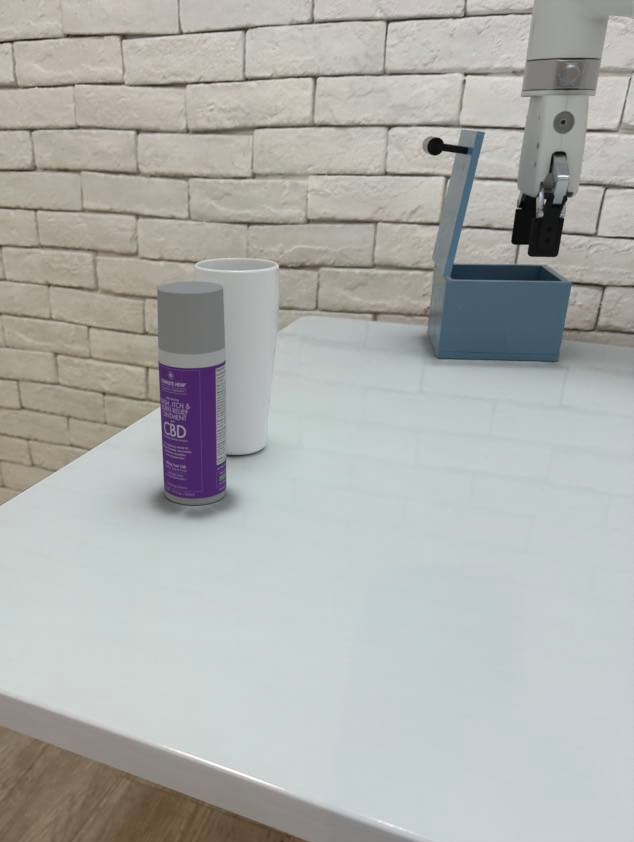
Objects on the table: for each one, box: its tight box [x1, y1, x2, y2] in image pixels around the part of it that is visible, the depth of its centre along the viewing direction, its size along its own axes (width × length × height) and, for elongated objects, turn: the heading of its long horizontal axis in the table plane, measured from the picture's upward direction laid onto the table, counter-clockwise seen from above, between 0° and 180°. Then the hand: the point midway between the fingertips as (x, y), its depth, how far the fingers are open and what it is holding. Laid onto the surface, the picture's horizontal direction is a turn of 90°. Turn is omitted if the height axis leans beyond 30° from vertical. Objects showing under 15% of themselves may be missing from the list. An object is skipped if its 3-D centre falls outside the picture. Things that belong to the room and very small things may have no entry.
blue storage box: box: [426, 262, 573, 362], centre depth 98 cm, size 14×13×9 cm
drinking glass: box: [193, 257, 281, 456], centre depth 67 cm, size 7×7×15 cm
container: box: [156, 280, 227, 506], centre depth 58 cm, size 5×5×15 cm
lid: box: [421, 129, 486, 277], centre depth 94 cm, size 15×13×5 cm
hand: (533, 250), depth 95 cm, fingers open, 9 cm apart
